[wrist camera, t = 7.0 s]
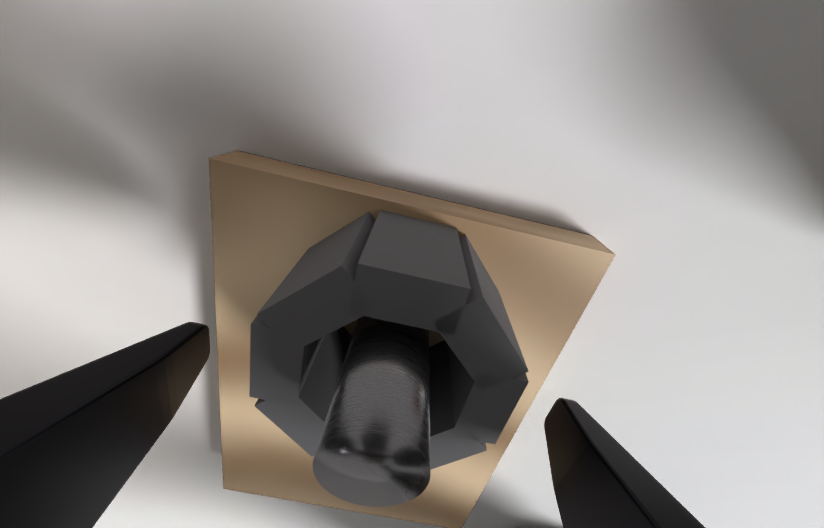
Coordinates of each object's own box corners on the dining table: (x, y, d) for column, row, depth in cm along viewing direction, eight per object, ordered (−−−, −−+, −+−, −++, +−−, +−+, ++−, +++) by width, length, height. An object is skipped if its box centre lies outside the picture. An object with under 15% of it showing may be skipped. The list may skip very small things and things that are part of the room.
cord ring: (460, 392, 13) (471, 488, 10) (293, 359, 12) (248, 447, 9) (523, 243, 10) (567, 311, 7) (309, 192, 9) (252, 239, 6)
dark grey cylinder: (419, 339, 12) (414, 515, 7) (358, 326, 12) (307, 495, 7) (436, 286, 11) (444, 447, 6) (369, 271, 11) (318, 422, 6)
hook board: (458, 498, 18) (460, 529, 17) (239, 458, 18) (223, 488, 16) (593, 236, 11) (615, 254, 10) (237, 150, 11) (208, 158, 9)
